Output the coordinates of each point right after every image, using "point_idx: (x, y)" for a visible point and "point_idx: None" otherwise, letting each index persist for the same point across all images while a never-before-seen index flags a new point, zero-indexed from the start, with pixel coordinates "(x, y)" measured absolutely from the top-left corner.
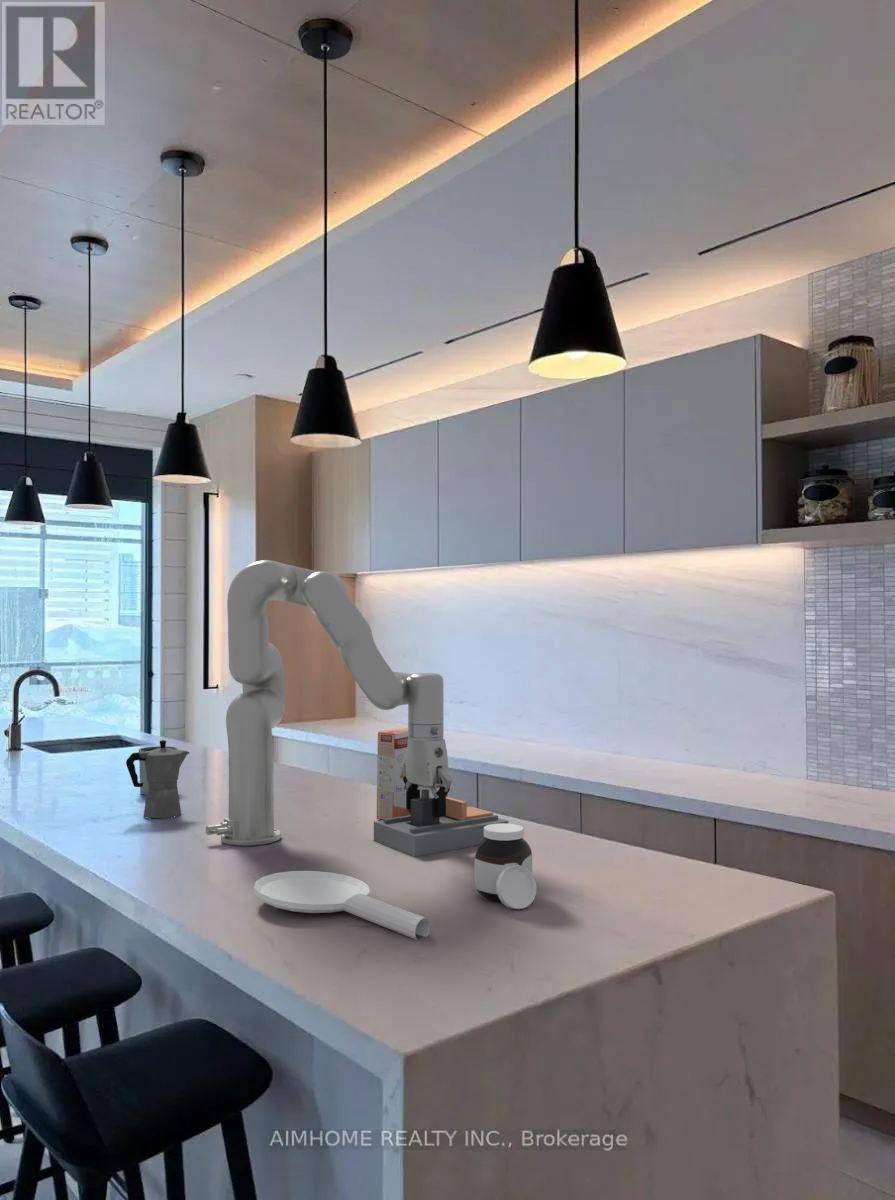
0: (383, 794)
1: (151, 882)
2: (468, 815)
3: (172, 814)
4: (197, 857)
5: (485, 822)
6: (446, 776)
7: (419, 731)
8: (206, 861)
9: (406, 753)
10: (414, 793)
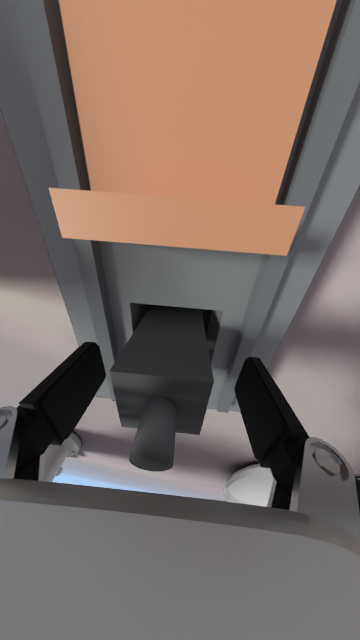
0: None
1: (149, 488)
2: (255, 200)
3: None
4: (100, 467)
5: (337, 152)
6: None
7: None
8: (116, 468)
9: None
10: (63, 411)
